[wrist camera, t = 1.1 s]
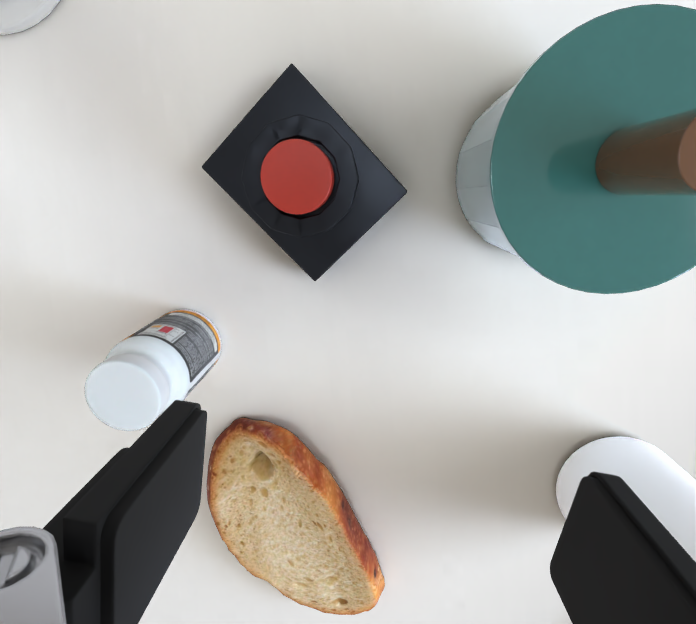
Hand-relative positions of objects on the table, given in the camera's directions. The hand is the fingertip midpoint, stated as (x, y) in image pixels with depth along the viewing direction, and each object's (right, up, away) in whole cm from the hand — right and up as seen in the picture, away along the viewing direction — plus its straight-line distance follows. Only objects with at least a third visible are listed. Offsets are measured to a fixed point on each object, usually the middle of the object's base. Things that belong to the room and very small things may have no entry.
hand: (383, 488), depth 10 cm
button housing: (-4, +14, +21) cm, 25 cm away
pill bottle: (-14, +2, +25) cm, 28 cm away
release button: (-4, +13, +17) cm, 22 cm away
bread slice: (-5, -14, +28) cm, 32 cm away
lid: (+12, +11, +9) cm, 19 cm away
